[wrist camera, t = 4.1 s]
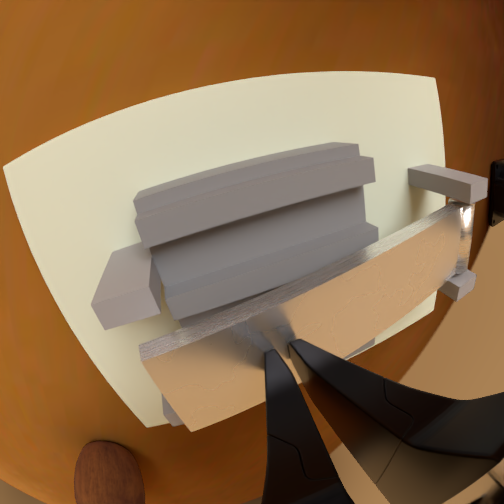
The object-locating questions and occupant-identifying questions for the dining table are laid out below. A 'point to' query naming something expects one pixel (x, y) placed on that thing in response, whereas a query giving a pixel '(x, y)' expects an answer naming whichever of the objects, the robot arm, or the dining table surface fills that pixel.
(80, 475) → the wooden figurine
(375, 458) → the robot arm
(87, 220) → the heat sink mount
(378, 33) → the dining table surface
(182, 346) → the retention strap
